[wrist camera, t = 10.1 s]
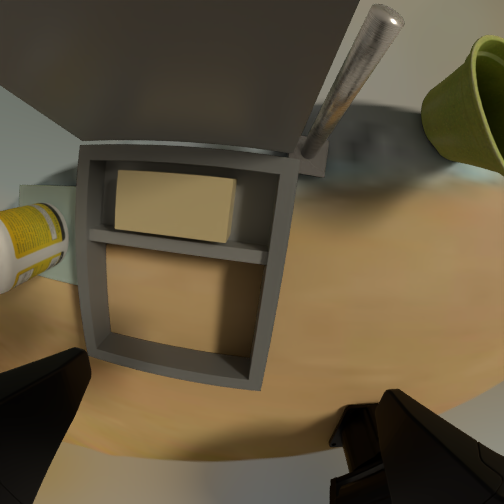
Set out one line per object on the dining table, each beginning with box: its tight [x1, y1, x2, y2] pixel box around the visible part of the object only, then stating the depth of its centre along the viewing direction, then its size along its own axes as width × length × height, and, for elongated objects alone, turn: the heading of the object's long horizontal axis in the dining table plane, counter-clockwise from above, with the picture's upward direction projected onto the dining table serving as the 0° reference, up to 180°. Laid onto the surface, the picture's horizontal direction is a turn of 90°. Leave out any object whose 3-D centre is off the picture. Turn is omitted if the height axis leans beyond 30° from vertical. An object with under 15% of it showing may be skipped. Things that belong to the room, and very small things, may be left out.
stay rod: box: [287, 4, 405, 178], centre depth 11 cm, size 5×2×13 cm, turn 173°
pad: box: [19, 185, 78, 285], centre depth 19 cm, size 8×8×1 cm
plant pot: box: [421, 35, 504, 176], centre depth 12 cm, size 9×9×9 cm
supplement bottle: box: [0, 203, 69, 294], centre depth 14 cm, size 5×5×10 cm
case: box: [75, 144, 300, 391], centre depth 18 cm, size 16×14×3 cm
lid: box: [0, 0, 360, 154], centre depth 8 cm, size 14×13×1 cm
